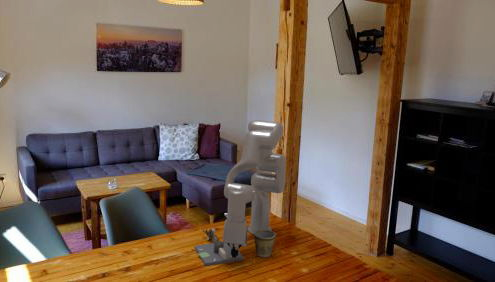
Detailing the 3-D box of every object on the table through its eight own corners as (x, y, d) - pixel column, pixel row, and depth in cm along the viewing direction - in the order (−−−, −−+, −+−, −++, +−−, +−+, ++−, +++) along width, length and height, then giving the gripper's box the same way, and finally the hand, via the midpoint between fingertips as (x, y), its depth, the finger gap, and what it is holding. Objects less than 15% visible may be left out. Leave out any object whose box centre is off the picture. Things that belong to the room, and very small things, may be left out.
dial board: (192, 248, 192) (192, 245, 192) (230, 243, 199) (230, 240, 199) (203, 266, 176) (203, 263, 176) (243, 259, 183) (244, 257, 183)
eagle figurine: (198, 237, 202) (206, 240, 194) (204, 223, 204) (212, 226, 196) (210, 242, 206) (218, 246, 198) (216, 229, 207) (224, 233, 200)
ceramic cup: (271, 260, 183) (272, 239, 182) (250, 256, 187) (251, 235, 185) (278, 248, 196) (279, 229, 194) (258, 245, 199) (259, 225, 197)
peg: (212, 249, 189) (212, 241, 188) (221, 248, 190) (221, 240, 190) (220, 260, 178) (220, 252, 178) (229, 259, 180) (230, 251, 179)
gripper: (217, 218, 174) (215, 258, 177) (251, 222, 171) (249, 263, 174) (222, 212, 181) (220, 250, 185) (254, 216, 178) (252, 255, 181)
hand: (234, 256), depth 179 cm, fingers closed
